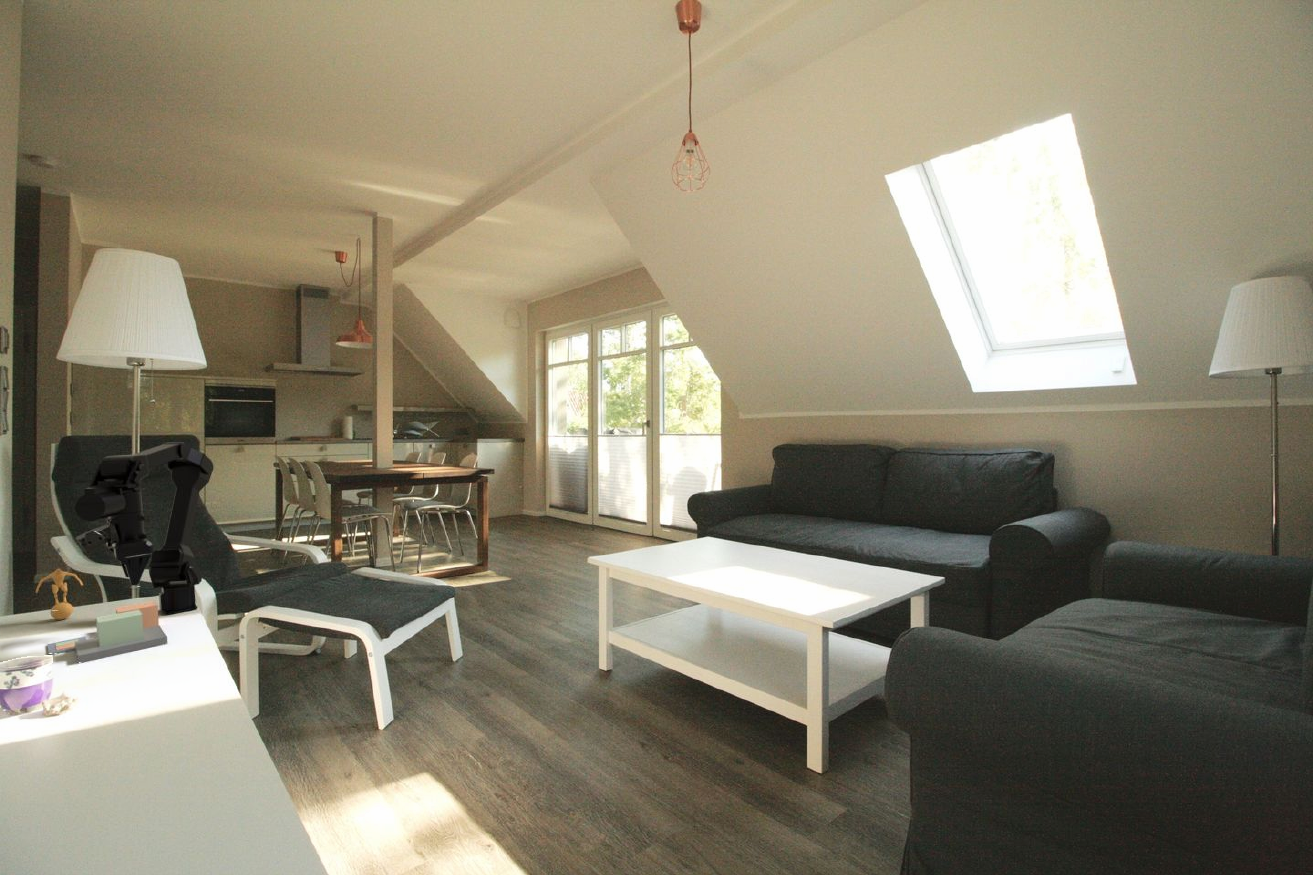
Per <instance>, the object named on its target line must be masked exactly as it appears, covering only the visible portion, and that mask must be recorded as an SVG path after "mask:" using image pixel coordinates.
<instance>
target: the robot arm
mask: <svg viewBox="0 0 1313 875" xmlns="http://www.w3.org/2000/svg"><path fill="white" fill-rule="evenodd" d="M163 465H164V467H165V469H167V470H168V471H170V473H171V474H170V479H171V481H172V482H173V485H174V487H175V493H174V498H173V503H172V508H171V513H170V517H169V522H168V527H167V531H166V536H165V541H164V544H163V545H162V547H161V548H160V549H155V550H154V546H153V543H152V542H151V541H149V540H148V539H147V533H145V525H144V523H145V522H144V521H146V519H145V517H146V516H145V515H144V512H143V511H144V510H143V499H142V490H144V489H147V486H148V485H146V484H145V482H143V481H141V480H142V479H144V478H145V477H148V475H149V474H150V471H151V470H152V469H153V470H154V469H155V468H157V467H161V466H163ZM213 472H214V463H213V461H212V460H211V459H210V458H209V456H207V455H206V454H205V453H204V452H202V451H199V450H197V449H195V448H193V447H191V446H190V445H189V443H187V442H184V441H178V442H177V441H175V442H174V441H173V442H172V441H171V442H168V441H167V442H164V443H161V445H157V446H153V447H151V448H148V449H145V450H142V451H139V452H136V453H134V454H121V455H120V454H119V455H108V456H105V457H103V458H102V459H101V460H100V463H99V464H98V467H97V468H96V471H95V473H94V475H93V477H92V480H91V482H90V484H89V486H88V487H86V488H84V490H83V492H84V494H83V495H81V496H80V497H79V498H77V501H76V503H75V505H74V511H75V513H76V515H77V517H79V518H80V519H81V520H84V521H85V522H94V521H99V520H102V519H105V518H107V519H106V524H103V525H102V526H99V527H96V528H94V529H93V528H92V529H91V530H89V531H85V532H84V533H81V534H80V535H78V536H75V539H76V541H77V543H78V544H79V546H80V547H81V549H82V550H83V552H84V553H88V552H90V551H93V550H94V549H95V548H97V547H99V546H102V545H104V544H106V547H107V549H108V550H109V551H110V552H112V553H113V554H114V558H115V559H116V561H118V562H119V563H120V565H121V568H122V571H123V573H124V576H125V577H126V578H129V582H130V584H131V586H138V585H139V583H140V581H141V579H142V576H143V574H144V572H145V570H146V567H147V565H148V563H149V561H150V563H149V565H148V568H149V569H148V574H149V578H150V581H151V584H152V586H153V589H159V588H161V592H159V593H158V601H159V610H160V611H161V612H162V613H163V614H164V615H172V614H177V613H181V612H187V611H192V610H197V609H198V605H197V604H196V603H197V602H196V588H195V587H196V586H197V585H200V583H202V579H203V572H202V571H201V570H200V568H198V567H197V566H196V564H195V555H194V553H193V552H192V550H191V548H190V542H191V537H192V532H193V527H194V523H195V517H196V513H197V512H196V511H197V507H198V501H199V497H200V492H201V491H202V490H203V488H204V487H206V486H207V485H208V484H209V482H210V479H211V477H212V473H213ZM150 558H151V560H150Z"/></svg>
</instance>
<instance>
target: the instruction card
mask: <svg viewBox="0 0 1313 875" xmlns="http://www.w3.org/2000/svg"><path fill="white" fill-rule="evenodd" d="M82 640H87V638H86V636H81V637H77V638H71V639H66V640H65V639H64V640H62V641H57V642H52V643H51V642H50V643H47V650H48V654H49V653H57V654H60V653H59V652H62V653H66V652H70V651H75V642H77V641H82Z"/></svg>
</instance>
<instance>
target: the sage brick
mask: <svg viewBox="0 0 1313 875" xmlns="http://www.w3.org/2000/svg"><path fill="white" fill-rule="evenodd" d="M95 622H96V624H95V625H96V636H97V637H96V638H97V641H98V644H99V646H100V647H102V646H107V645H112V644H116V643H121V642H126V641H131V640H135V639H140V638H144V637H143V620H142V613H141V612H140V610H134V611H128V612H123V613H118V614H116V613H113V614H109V615H103V616H98V617H95Z"/></svg>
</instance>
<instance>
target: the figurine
mask: <svg viewBox="0 0 1313 875" xmlns="http://www.w3.org/2000/svg"><path fill="white" fill-rule="evenodd" d="M65 576H70V577H74V579H76V580H77V581H78V582H79V584H80V586H84V583H83V581H82V580H81V579H80V578H79V576H77V574H76V573H71V572H68V571H63V570H62V569H61V568H56V570H55V571H54V572H52V573H50V574H48V575H47V576H45V577H42V578H41V579H39V580H40V581H39V583H38V585H37V587H36V589H35V593H36V594H37V593H39V591H40V589H39V588H40V587H41V585H42V584H43V582H44V581H46V580H49V579H52V580H53V582H54V584H51V589H52V593H53V598H55V600H54V601H55V604H54V605H53V606H52V608H51V609H50V616H51V617H52V618H53V619H55V620H58V621H59V620H61V621H62V620H65V619H67V618H69V617H70V616H71V615H72V614H73V612H74V607H73V605H72V604H71V603H69V602H68V601H67V598H66V596H67V595H68V584H67V582H64V579H65ZM59 589H61V591H62V592H63V594H62V600H63V601H62V602H60V601H59V597H58V596H59V595H58V594H57V593H58V592H59ZM52 610H58V611H52Z"/></svg>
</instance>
